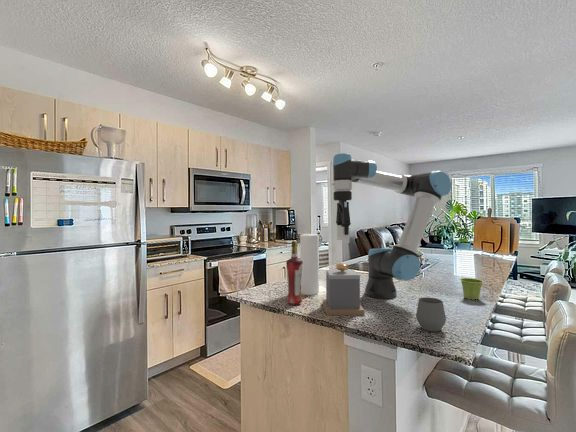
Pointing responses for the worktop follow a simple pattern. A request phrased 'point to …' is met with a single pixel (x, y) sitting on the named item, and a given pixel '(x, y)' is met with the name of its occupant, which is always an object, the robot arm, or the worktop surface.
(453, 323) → the worktop surface
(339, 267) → the plunger
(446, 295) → the worktop surface
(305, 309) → the worktop surface
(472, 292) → the plant pot
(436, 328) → the cup
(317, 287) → the cylinder container
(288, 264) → the liquor
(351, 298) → the press
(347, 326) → the worktop surface
